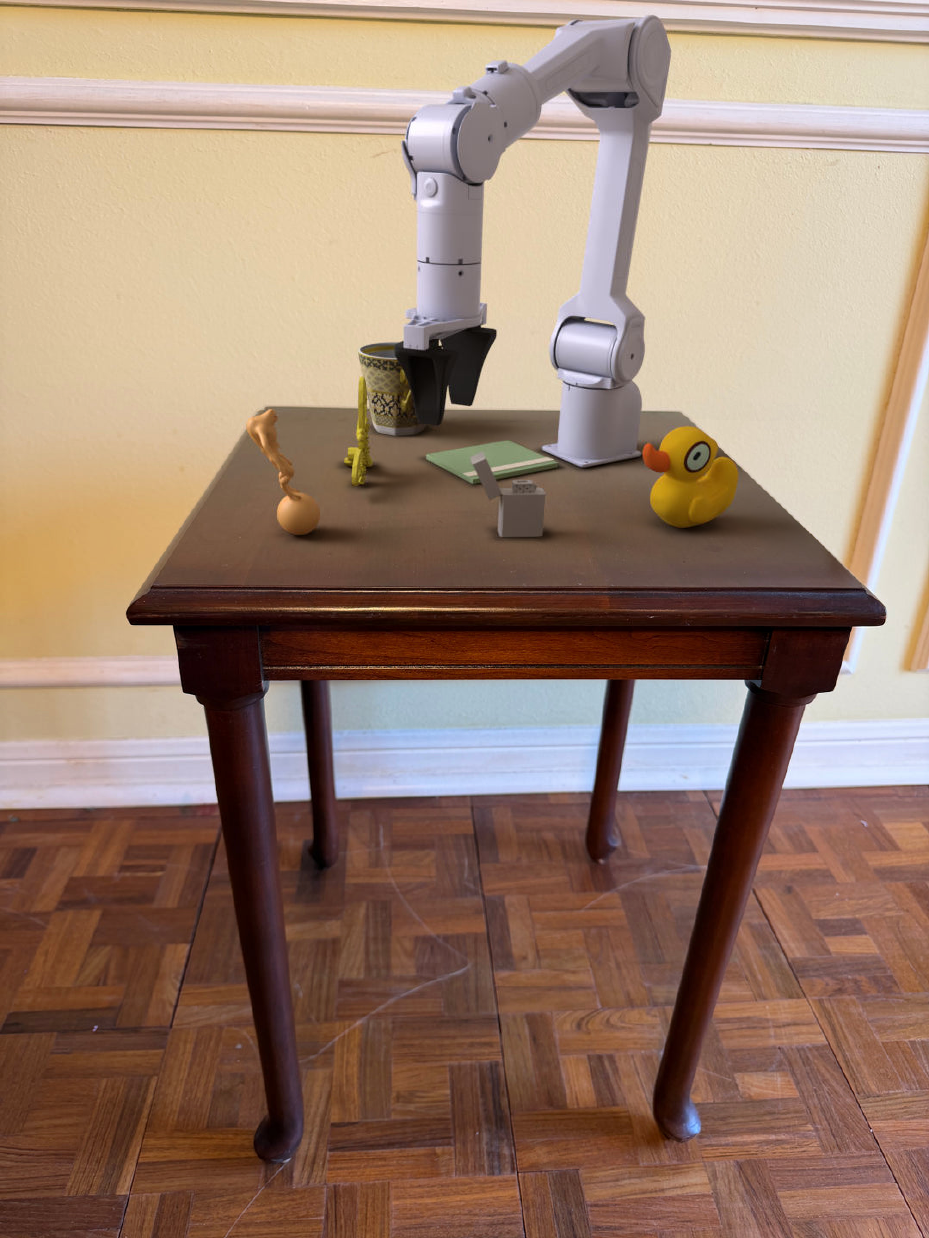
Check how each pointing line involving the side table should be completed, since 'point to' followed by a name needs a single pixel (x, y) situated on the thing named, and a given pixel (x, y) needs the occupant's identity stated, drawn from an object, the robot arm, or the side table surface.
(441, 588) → the side table surface
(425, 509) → the side table surface
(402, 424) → the ceramic cup
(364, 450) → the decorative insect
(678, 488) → the duckling
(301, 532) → the figurine
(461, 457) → the towel
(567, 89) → the robot arm
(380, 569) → the side table surface
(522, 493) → the lighter
